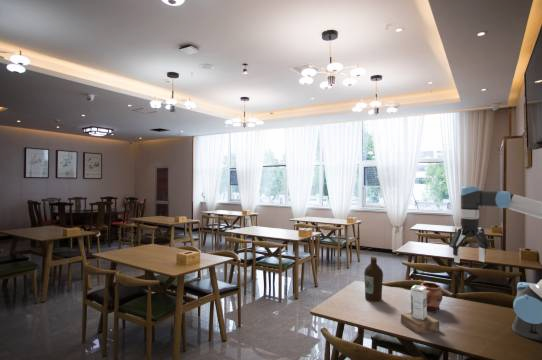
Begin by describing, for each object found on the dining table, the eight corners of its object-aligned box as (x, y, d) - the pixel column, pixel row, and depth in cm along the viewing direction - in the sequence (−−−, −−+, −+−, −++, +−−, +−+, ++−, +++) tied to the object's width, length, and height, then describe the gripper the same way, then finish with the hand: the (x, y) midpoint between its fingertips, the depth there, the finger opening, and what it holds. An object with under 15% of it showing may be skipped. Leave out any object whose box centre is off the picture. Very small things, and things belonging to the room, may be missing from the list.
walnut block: (420, 321, 164) (420, 311, 164) (439, 331, 153) (439, 321, 153) (400, 324, 160) (400, 313, 160) (418, 335, 149) (418, 324, 149)
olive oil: (373, 294, 200) (373, 254, 200) (386, 300, 191) (387, 258, 191) (360, 297, 195) (360, 256, 195) (373, 303, 186) (373, 260, 186)
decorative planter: (440, 319, 165) (440, 292, 165) (414, 313, 172) (415, 287, 172) (443, 306, 182) (444, 282, 182) (420, 302, 189) (420, 278, 189)
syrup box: (414, 313, 160) (413, 284, 161) (427, 316, 157) (426, 286, 157) (411, 317, 156) (409, 287, 156) (424, 320, 152) (422, 289, 152)
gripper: (485, 217, 162) (485, 259, 162) (441, 217, 158) (441, 260, 158) (498, 218, 155) (498, 262, 155) (452, 219, 151) (452, 264, 151)
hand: (469, 261), depth 156 cm, fingers open, 13 cm apart
